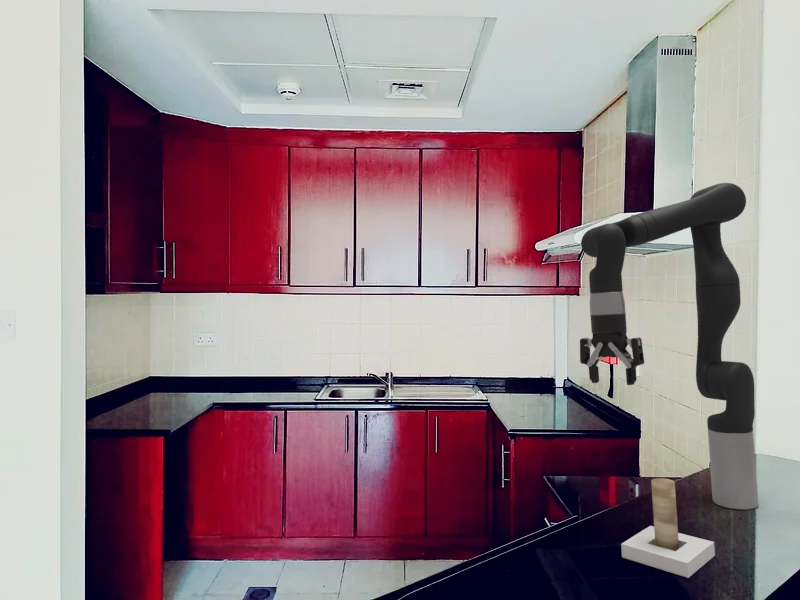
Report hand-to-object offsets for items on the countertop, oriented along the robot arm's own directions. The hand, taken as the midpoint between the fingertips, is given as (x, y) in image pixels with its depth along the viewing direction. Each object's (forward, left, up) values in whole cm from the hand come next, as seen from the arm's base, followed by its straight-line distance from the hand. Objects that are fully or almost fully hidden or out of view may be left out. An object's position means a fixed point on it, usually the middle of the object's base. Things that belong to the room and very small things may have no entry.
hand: (612, 383), depth 125 cm
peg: (+13, +16, -30) cm, 36 cm away
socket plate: (+13, +16, -30) cm, 36 cm away
